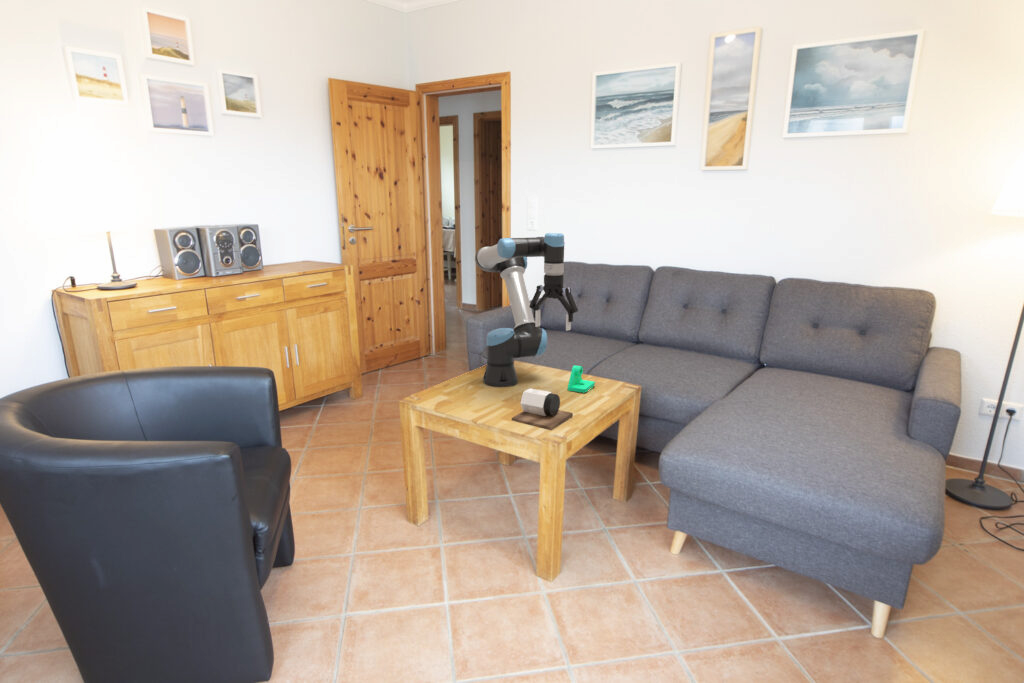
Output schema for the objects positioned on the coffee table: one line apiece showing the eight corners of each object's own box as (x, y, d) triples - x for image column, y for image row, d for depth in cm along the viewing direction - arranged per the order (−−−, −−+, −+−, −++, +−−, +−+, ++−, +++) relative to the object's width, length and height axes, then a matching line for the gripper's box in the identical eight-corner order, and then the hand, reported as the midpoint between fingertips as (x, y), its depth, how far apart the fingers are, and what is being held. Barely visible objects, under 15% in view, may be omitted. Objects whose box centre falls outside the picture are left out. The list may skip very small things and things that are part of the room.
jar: (518, 399, 199) (547, 405, 193) (528, 383, 204) (556, 388, 198) (524, 416, 205) (553, 422, 198) (533, 400, 210) (562, 405, 203)
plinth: (511, 424, 198) (511, 417, 197) (534, 410, 211) (534, 404, 211) (551, 434, 190) (551, 427, 189) (572, 419, 203) (572, 412, 202)
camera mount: (584, 395, 229) (585, 371, 226) (567, 392, 233) (568, 369, 230) (595, 387, 239) (596, 364, 237) (578, 384, 243) (579, 362, 240)
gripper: (521, 273, 218) (520, 326, 223) (578, 277, 205) (577, 333, 210) (530, 271, 224) (530, 322, 229) (587, 275, 211) (585, 330, 216)
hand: (552, 328), depth 219 cm, fingers open, 13 cm apart
